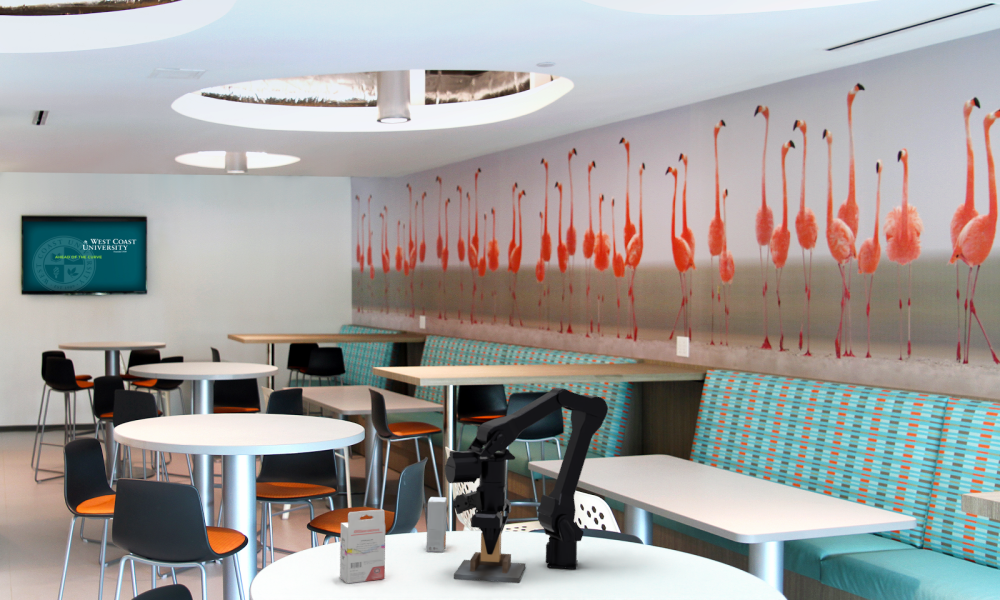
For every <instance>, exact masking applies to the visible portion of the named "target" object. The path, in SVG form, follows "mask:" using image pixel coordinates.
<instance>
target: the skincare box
mask: <svg viewBox="0 0 1000 600" xmlns="http://www.w3.org/2000/svg"><path fill="white" fill-rule="evenodd" d="M447 501H448V498H447V497H444V496H443V497H441V496H430V498H428V501H427V517H426V518H427V521H426V524H427V525H426V552H428V553H429V552H434V553H444V551H445V548H446V543H447V541H446V540H447V512H448V511H447V510H448V509H447V508H448V507H447V505H448V504H447V503H448V502H447Z"/></svg>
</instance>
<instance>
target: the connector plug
mask: <svg viewBox="0 0 1000 600" xmlns="http://www.w3.org/2000/svg"><path fill="white" fill-rule="evenodd" d="M480 552H481V561H487V562H499V561H500V559H501V554H502V534H501V533H500V535H499V538H498V541H497V543H496V546H495V549H494V551H493V554H492V555H489V554H487V550H486V546H485V541H484V537H483V533H482V532H481V535H480Z"/></svg>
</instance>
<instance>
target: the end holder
mask: <svg viewBox="0 0 1000 600" xmlns="http://www.w3.org/2000/svg"><path fill="white" fill-rule="evenodd" d="M526 567H527V565H526V562H512V554H511V553H501V559H500V561H499V562H487V561H481V551H480V552H479V551H475V552H474V553H473V554H472V556H471V558H470V559H463V561H462V562H461V563H460V564H459V566H458V568H457V569H456V570H455V572H454V573H453V579H454V580H464V581H465V580H467V581H483V582H497V583H499V582H500V583H501V582H502V583H515V584H519V583H520V582H521V579H522V577H523V576H524V572H525V570H526Z"/></svg>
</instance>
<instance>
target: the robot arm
mask: <svg viewBox="0 0 1000 600" xmlns="http://www.w3.org/2000/svg"><path fill="white" fill-rule="evenodd" d="M561 408H563V409H566V410H568V411H571V412H570V422H571V433H570V436H569V438H568V439H569V440H568V442H567V446H566V449H565V453H564V456H563V459H562V462H561V465H560V469H559V472H558V475H557V478H556V481H555V484H554V488H553V489H552V491H551V493H549V494H548V495H546V494H542V496H541V498H540V503H539V506H538V508H537V509H536V512H537V513H538V516H537V520H538V522H539V525H540V526H541V527H542V528H543V530H544V533H545V536H549V537H548V542H546V544H545V563H546V567H547V568H549V569H550V568H551V569H553V568H554V569H568V570H576V569H577V566H578V563H579V562H578V559H577V557H578V542H581V541H582V539H583V536H584V531H583V530H582V528H580V526H579V525H578V524H577V523H576V522H575V516H576V503H575V502H576V501H575V494H576V491H577V488H578V487H577V486H578V483H579V481H580V478H581V475H582V471H583V468H584V464H585V461H586V458H587V454H588V451H589V448H590V445H591V443H592V438H593V436H594V435H595V434H596V433H597V431H599V429H600V428H601V427H603V426H602V425H603V424H604V421H605V420H606V417H607V415H608V411H609V406H608V405H607V401H606V400H605V399H604V398H603V397H601V396H596V395H589V394H579V393H575V392H573V391H570V390H569V389H568V388H567V389H566V388H562V387H553V388H552V389H550V390H549V391H548V392H547V393H545V394H543V395H542V396H540V397H538V398H537V399H535V400H533V401H531V402H530V403H528V404H527V405H525V406H523V407H521V408H519V409H518V410H515V411H514V412H513V413H511V414H509V415H506V416H501V417H496V418H494V419H491V420H488V421H486V422H483V423H482V424H481V425H479V427H477V433H476V436H475V438H474V439H473V441H472V442H471V443H470V445H469V446H468V448H467V449H466V450H465V451H458V450H450V451H449V453H448V454H449V455H448V458H447V459H446V461H445V465H444V474H445V479H446V481H447V482H448V484H458V483H459V484H461V483H473V482H474V483H475V482H476V481H477V480H478V479H479V483H478V486H477V487H476V490H474V491H470V492H468V493H467V492H466V493H461V494H457V495H455V497H454V499H452V503H453V505H452V508H453V509H455V512H456V514H457V515H461V514H463V513H464V512H466V511H469V510H470V511H471V510H473V509H475V511H476V512H475V513H474V514H473V515H472V516H471V517H470V527H471V528H478V529H479V530H480V531H481V533H483V537H484V541H485V546H486V550H487V554H489V555H492V554H493V551H494V549H495V546H496V543H497V541H498V538H499V535H500V533H501V535H502V533H503V531H504V528H505V526H506V524H507V521H508V519H509V516H506V515H502V514H503V513H502V512H506V514H510V513H511V511H512V502H510V500H509V499H508V498H506V490H507V488H508V486H507V485H508V484H507V482H506V479H507V478H506V477H507V476H506V475H507V474H506V473H507V468H506V467H507V461H514V460H516V456H515V455H514V454H513V453H511V451H510V450H509V448H508V447H509V446H510V445H511V444H513V443H514V442H515V441H516V440H517V438H518V437H519V435H520V434H521V433H522V432H524V431H525V430H526V429H528V428H530V427H531V426H533V425H535V424H536V423H538V422H539V421H541V420H543V419H545V418H546V417H548V416H550V415H551V414H553V413H555V412H557V411H558V410H559V409H561Z"/></svg>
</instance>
